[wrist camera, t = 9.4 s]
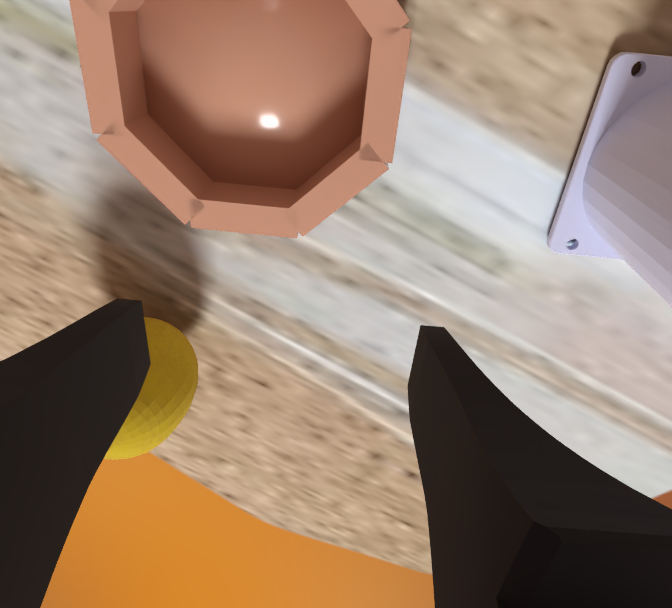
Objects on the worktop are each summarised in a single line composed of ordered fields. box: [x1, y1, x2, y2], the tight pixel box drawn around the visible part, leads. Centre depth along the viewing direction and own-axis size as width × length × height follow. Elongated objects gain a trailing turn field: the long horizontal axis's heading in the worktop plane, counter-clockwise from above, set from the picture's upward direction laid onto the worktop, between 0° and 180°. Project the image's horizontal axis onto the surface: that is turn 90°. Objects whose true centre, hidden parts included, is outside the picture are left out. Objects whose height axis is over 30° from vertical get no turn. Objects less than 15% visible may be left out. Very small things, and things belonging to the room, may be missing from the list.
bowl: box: [69, 0, 412, 238], centre depth 17 cm, size 11×11×3 cm
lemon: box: [104, 317, 198, 460], centre depth 22 cm, size 6×6×8 cm
